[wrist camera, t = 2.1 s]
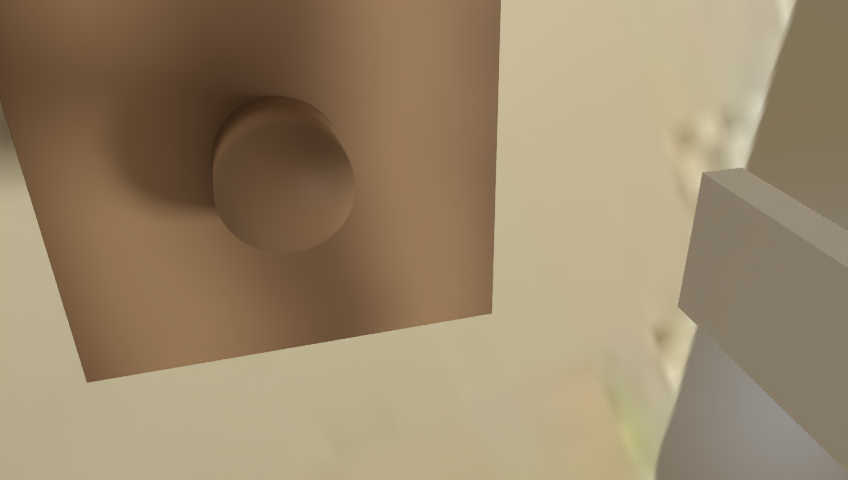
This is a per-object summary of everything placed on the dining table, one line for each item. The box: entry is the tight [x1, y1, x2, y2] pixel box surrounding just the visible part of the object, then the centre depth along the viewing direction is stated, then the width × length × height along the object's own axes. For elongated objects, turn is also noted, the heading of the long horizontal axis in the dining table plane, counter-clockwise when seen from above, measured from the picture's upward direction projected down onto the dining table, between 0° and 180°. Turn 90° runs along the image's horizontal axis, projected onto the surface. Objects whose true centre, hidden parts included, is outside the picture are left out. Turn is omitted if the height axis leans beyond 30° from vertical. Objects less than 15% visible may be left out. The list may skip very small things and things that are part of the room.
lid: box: [0, 0, 501, 383], centre depth 18 cm, size 11×11×6 cm
